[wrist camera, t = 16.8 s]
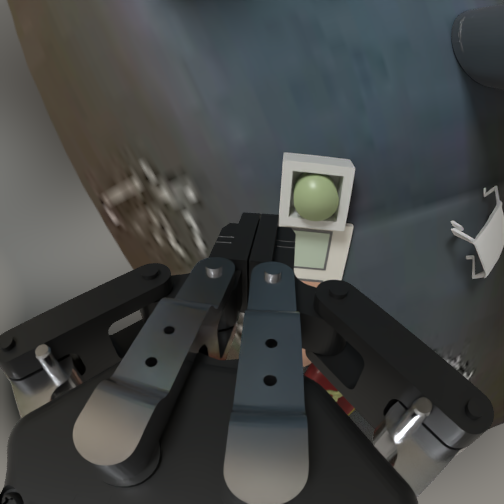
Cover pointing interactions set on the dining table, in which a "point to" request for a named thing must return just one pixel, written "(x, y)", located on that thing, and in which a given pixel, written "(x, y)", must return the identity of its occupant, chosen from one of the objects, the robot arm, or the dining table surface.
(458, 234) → the origami figure
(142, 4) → the dining table surface
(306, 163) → the button housing
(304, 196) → the button
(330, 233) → the colouring board
